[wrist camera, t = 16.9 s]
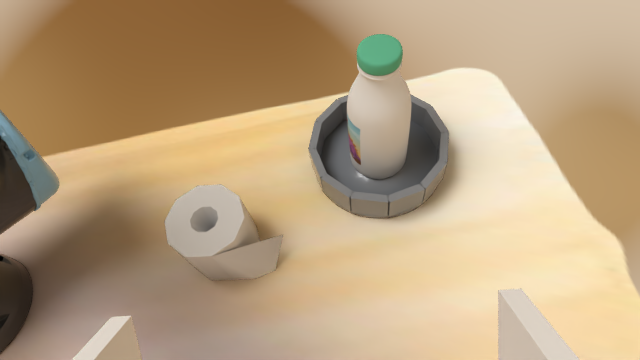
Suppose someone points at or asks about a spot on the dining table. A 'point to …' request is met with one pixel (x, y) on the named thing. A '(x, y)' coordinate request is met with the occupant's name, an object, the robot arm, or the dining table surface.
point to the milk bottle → (379, 109)
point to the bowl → (379, 194)
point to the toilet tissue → (219, 235)
